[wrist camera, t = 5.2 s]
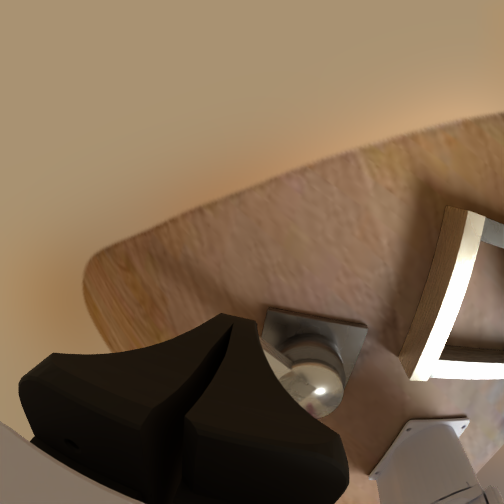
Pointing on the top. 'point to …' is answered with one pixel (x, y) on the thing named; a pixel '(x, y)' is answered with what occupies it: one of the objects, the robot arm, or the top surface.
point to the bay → (451, 304)
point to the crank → (307, 381)
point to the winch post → (315, 338)
